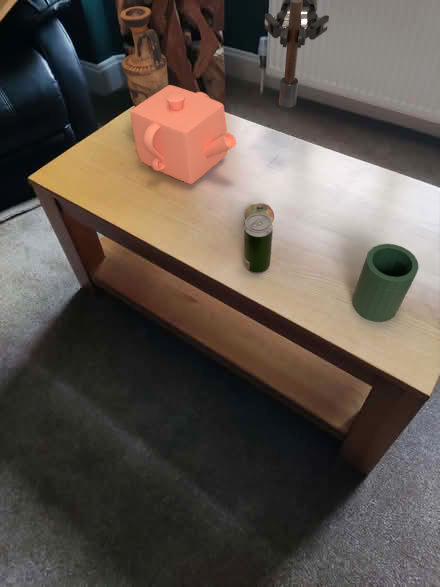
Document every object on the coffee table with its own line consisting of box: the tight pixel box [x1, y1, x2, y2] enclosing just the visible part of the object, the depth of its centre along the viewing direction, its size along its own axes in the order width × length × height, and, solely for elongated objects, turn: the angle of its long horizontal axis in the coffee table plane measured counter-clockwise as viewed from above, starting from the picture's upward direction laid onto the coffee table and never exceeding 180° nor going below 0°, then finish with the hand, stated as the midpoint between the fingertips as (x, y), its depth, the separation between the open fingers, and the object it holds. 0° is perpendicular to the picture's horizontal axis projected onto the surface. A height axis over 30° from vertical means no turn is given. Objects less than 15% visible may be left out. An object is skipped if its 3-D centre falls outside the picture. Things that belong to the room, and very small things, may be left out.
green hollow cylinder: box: [351, 243, 419, 323], centre depth 77 cm, size 8×8×12 cm
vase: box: [119, 5, 169, 108], centre depth 107 cm, size 11×11×30 cm
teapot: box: [129, 84, 237, 185], centre depth 102 cm, size 25×23×18 cm
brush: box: [278, 0, 303, 109], centre depth 88 cm, size 4×4×20 cm
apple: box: [243, 202, 275, 224], centre depth 93 cm, size 6×8×6 cm
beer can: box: [243, 213, 274, 275], centre depth 84 cm, size 5×5×12 cm
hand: (292, 42), depth 83 cm, fingers closed on brush, 2 cm apart
